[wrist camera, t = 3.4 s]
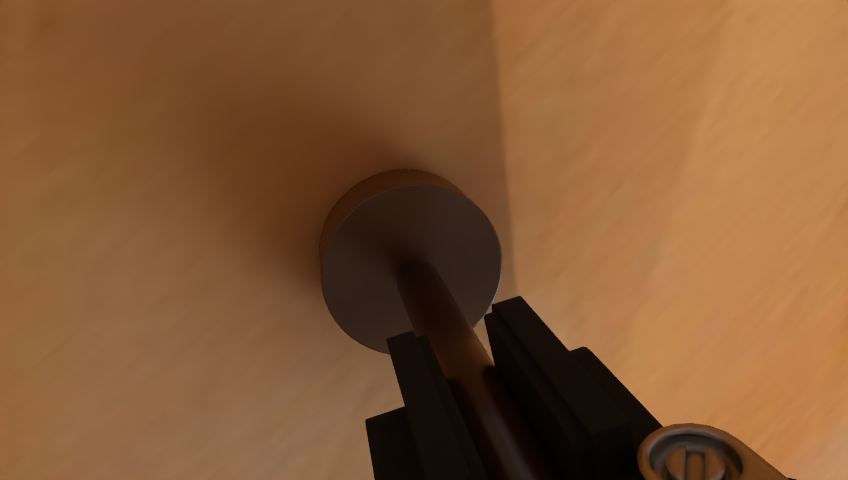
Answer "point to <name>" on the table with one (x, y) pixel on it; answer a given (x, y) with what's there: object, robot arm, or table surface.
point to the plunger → (429, 299)
